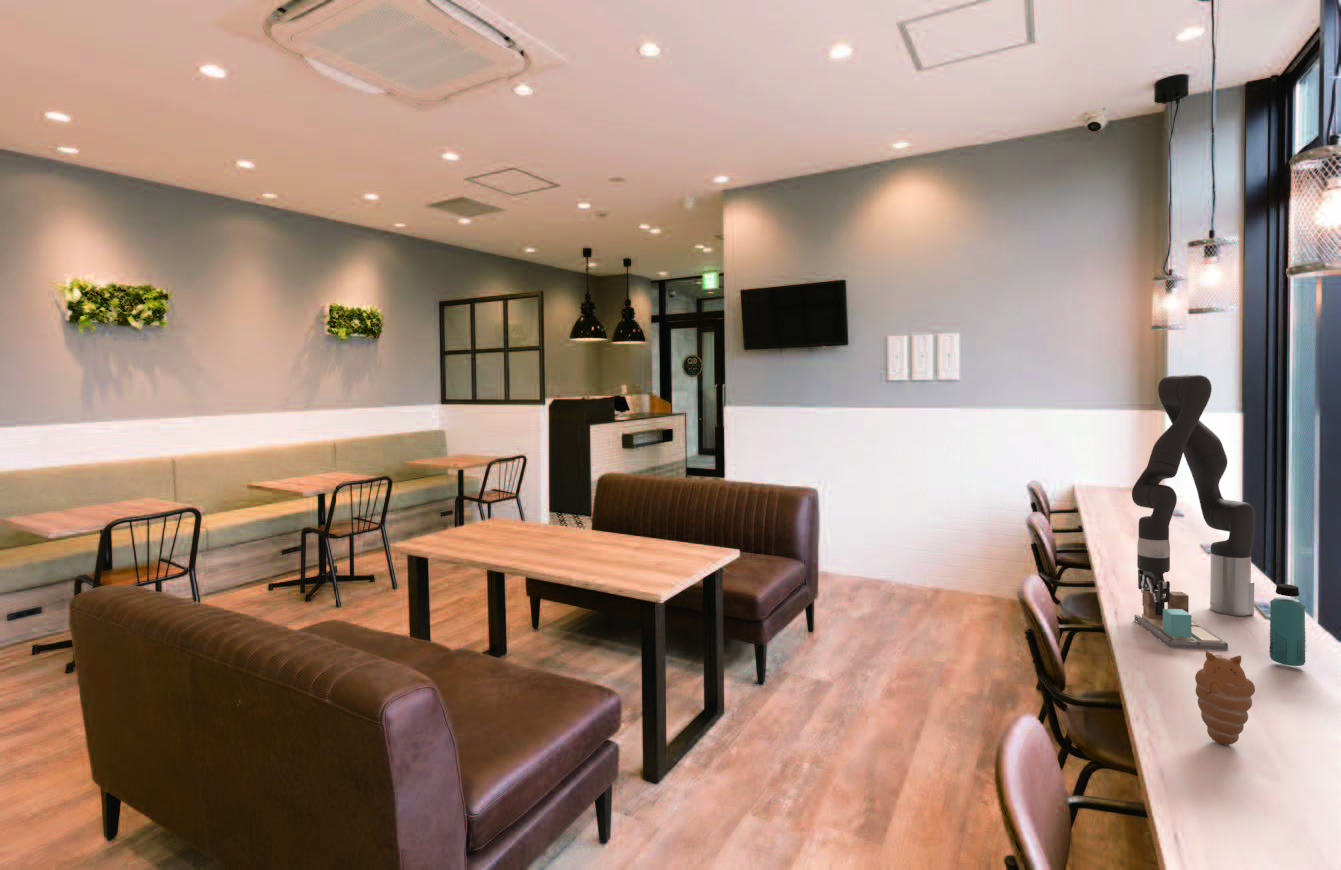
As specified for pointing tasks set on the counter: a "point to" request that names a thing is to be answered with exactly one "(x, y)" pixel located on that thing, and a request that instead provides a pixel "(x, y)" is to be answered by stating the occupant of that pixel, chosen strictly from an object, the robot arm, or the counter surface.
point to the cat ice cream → (1223, 697)
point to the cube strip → (1160, 627)
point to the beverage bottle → (1287, 627)
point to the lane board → (1198, 635)
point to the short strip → (1179, 602)
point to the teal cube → (1177, 622)
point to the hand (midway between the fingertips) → (1153, 610)
